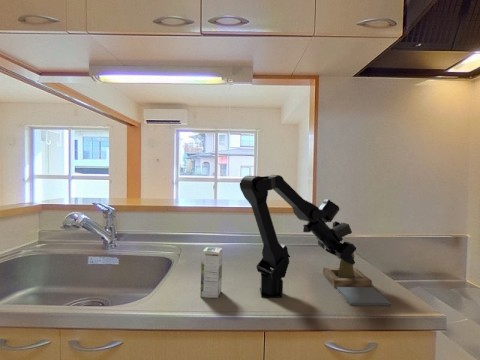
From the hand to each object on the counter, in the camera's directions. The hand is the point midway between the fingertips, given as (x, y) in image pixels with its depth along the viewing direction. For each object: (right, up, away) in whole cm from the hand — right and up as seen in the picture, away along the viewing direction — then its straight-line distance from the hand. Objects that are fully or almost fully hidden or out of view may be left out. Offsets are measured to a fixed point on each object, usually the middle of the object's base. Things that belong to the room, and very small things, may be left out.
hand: (350, 261), depth 111 cm
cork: (-1, -7, 0) cm, 7 cm away
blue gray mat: (-1, -8, -14) cm, 16 cm away
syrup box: (-49, -7, -14) cm, 52 cm away
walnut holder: (-1, -7, 0) cm, 7 cm away
